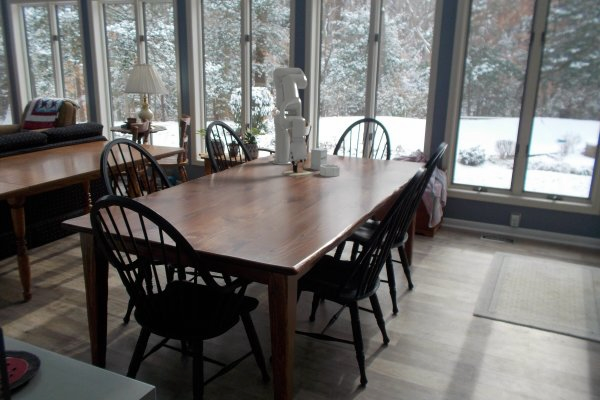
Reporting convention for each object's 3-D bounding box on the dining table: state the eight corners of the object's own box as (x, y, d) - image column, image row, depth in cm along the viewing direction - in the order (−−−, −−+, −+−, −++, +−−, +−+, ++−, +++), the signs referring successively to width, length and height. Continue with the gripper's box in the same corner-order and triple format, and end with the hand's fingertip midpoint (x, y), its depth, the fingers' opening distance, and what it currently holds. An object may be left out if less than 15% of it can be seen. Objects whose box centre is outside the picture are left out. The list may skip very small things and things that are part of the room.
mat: (281, 174, 290) (281, 173, 290) (299, 171, 299) (299, 170, 299) (296, 178, 280) (296, 177, 280) (314, 175, 288) (315, 174, 288)
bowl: (316, 174, 290) (316, 165, 288) (329, 172, 297) (330, 163, 295) (329, 178, 282) (329, 168, 280) (343, 175, 289) (343, 166, 287)
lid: (282, 173, 290) (282, 161, 288) (299, 170, 298) (299, 159, 296) (296, 177, 280) (296, 165, 278) (313, 174, 288) (314, 162, 287)
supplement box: (320, 171, 300) (320, 150, 296) (310, 169, 304) (310, 149, 301) (327, 169, 305) (327, 148, 302) (317, 167, 310) (317, 147, 306)
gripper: (305, 137, 292) (304, 168, 297) (283, 140, 281) (282, 171, 286) (313, 139, 286) (313, 170, 291) (291, 141, 276) (291, 174, 281)
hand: (298, 170), depth 289 cm, fingers closed on lid, 4 cm apart
